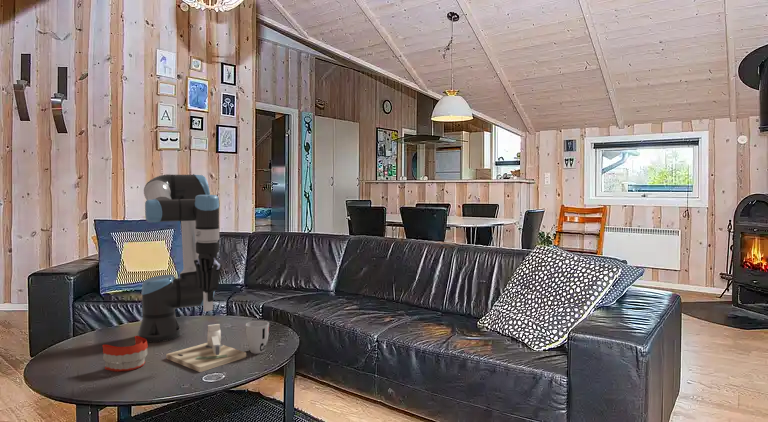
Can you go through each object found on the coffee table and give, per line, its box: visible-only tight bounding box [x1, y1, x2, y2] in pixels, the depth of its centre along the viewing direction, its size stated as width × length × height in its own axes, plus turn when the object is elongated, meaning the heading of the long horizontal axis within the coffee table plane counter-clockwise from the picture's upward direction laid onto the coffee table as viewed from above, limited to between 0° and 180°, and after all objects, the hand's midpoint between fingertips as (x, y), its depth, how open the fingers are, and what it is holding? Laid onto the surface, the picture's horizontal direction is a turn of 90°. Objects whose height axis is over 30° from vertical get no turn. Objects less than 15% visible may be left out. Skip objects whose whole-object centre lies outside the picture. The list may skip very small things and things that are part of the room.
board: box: [165, 342, 247, 373], centre depth 181 cm, size 20×18×2 cm
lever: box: [206, 323, 222, 355], centre depth 183 cm, size 17×5×7 cm, turn 22°
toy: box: [101, 335, 149, 373], centre depth 171 cm, size 12×10×8 cm
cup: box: [245, 320, 270, 355], centre depth 187 cm, size 8×8×10 cm
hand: (208, 310), depth 177 cm, fingers closed
